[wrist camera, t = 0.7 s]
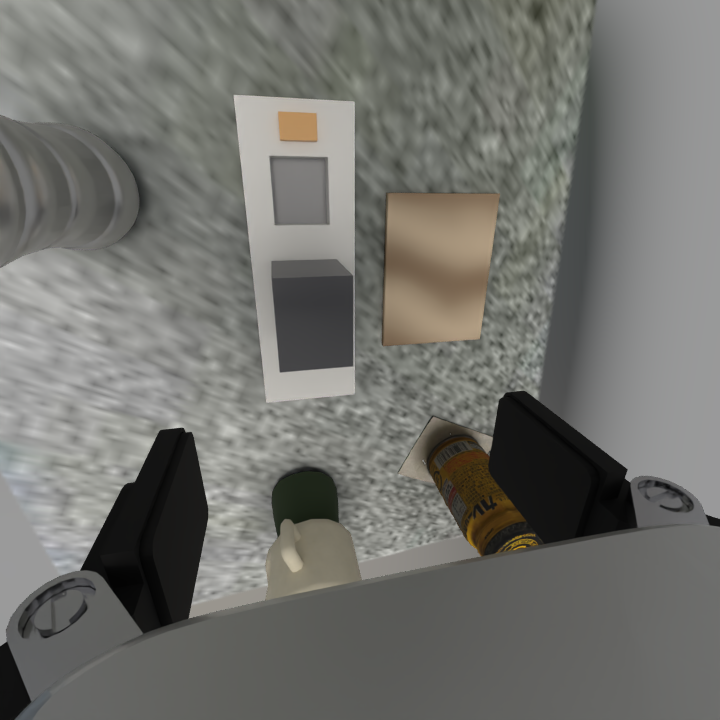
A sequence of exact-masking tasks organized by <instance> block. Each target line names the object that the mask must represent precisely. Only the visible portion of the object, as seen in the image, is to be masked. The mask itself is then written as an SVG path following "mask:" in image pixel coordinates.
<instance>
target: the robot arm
mask: <svg viewBox="0 0 720 720" xmlns="http://www.w3.org/2000/svg"><path fill="white" fill-rule="evenodd" d="M488 469H489V473H490V475H491V477H492V478H493V479H494V480H495V482H496V483H497V484H498V486H499V487H500V488H501V489H502V491H503V492H504V493H505V494H506V496H507V497H508V498H509V500H510V501H511V502H512V503H513V505H514V506H515V507H516V508H517V510H518V511H519V512H520V514H521V515H522V516H523V517H524V519H525V520H526V521H527V522H528V524H529V525H530V526H531V528H532V529H533V530H534V531H535V533H536V534H537V535H538V536H539V538H540V539H541V540H542V542H543V543H544V544H543V545H538V546H532V547H527V548H522V549H517V550H512V551H506V552H501V553H496V554H491V555H486V556H481V557H476V558H471V559H466V560H461V561H456V562H450V563H445V564H441V565H435V566H431V567H426V568H420V569H415V570H410V571H405V572H400V573H396V574H391V575H385V576H381V577H376V578H371V579H366V580H361V581H356V582H351V583H346V584H341V585H337V586H332V587H327V588H322V589H317V590H312V591H307V592H302V593H298V594H293V595H288V596H283V597H279V598H274V599H270V600H265V601H261V602H256V603H252V604H248V605H243V606H238V607H234V608H230V609H225V610H220V611H216V612H213V613H209V614H205V615H201V616H197V617H193V618H189V613H190V608H191V603H192V598H193V593H194V588H195V582H196V577H197V572H198V567H199V562H200V557H201V552H202V547H203V542H204V537H205V532H206V527H207V522H208V505H207V500H206V495H205V491H204V486H203V481H202V476H201V471H200V466H199V461H198V456H197V452H196V447H195V442H194V437H193V434H192V432H187V433H186V432H185V430H184V428H175V429H166V430H160V431H159V433H158V435H157V437H156V439H155V441H154V443H153V446H152V448H151V450H150V452H149V454H148V456H147V458H146V460H145V462H144V464H143V466H142V469H141V471H140V473H139V475H138V477H137V479H136V481H135V482H133V483H127V484H126V485H124V487H123V488H122V490H121V492H120V494H119V496H118V497H117V499H116V501H115V503H114V505H113V507H112V509H111V511H110V513H109V515H108V517H107V519H106V521H105V523H104V525H103V527H102V529H101V531H100V533H99V535H98V537H97V539H96V540H95V542H94V544H93V546H92V548H91V550H90V552H89V554H88V556H87V558H86V560H85V562H84V564H83V566H82V568H81V570H80V571H75V572H71V573H68V574H65V575H62V576H59V577H57V578H55V579H53V580H51V581H49V582H47V583H46V584H44V585H43V586H41V587H40V588H38V589H37V590H36V591H34V592H33V593H32V594H30V595H29V597H28V598H26V599H25V600H24V601H23V602H22V604H20V606H19V607H18V608H17V609H16V611H15V612H14V614H13V615H12V617H11V618H10V621H9V624H8V626H7V629H6V636H7V642H6V643H4V644H3V645H2V646H0V720H720V519H718V518H714V517H711V516H708V515H705V513H704V510H703V507H702V505H701V504H700V502H699V501H698V499H697V498H696V497H695V496H694V495H692V494H691V493H690V492H689V491H687V490H686V489H684V488H683V487H681V486H679V485H677V484H675V483H672V482H670V481H668V480H665V479H661V478H658V477H652V476H639V477H635V478H634V479H633V480H632V481H631V483H630V482H628V481H627V480H626V479H625V475H626V472H627V469H626V468H625V467H624V466H622V465H621V464H620V463H618V462H617V461H616V460H614V459H613V458H612V457H610V456H609V455H608V454H607V453H605V452H604V451H603V450H601V449H600V448H599V447H598V446H596V445H595V444H593V443H592V442H591V441H590V440H588V439H587V438H586V437H584V436H583V435H582V434H581V433H579V432H578V431H577V430H575V429H574V428H573V427H571V426H570V425H569V424H568V423H566V422H565V421H564V420H562V419H561V418H560V417H558V416H557V415H556V414H554V413H553V412H552V411H550V410H549V409H548V408H547V407H545V406H544V405H543V404H541V403H540V402H539V401H538V400H536V399H535V398H534V397H532V396H531V395H530V394H528V393H527V392H525V391H517V392H507V393H506V394H505V395H504V396H503V398H501V399H500V400H499V405H498V410H497V416H496V422H495V428H494V434H493V440H492V446H491V452H490V457H489V463H488ZM188 618H189V619H188Z"/></svg>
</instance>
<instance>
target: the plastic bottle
mask: <svg viewBox="0 0 720 720" xmlns="http://www.w3.org/2000/svg"><path fill="white" fill-rule="evenodd" d="M138 210H139V192H138V187H137V184H136V181H135V179H134V176H133V174H132V172H131V171H130V169H129V167H128V166H127V164H126V163H125V161H124V160H123V159H122V158H121V157H120V156H119V154H118V153H116V152H115V151H114V150H113V149H112V148H111V147H110V146H109V145H107V144H106V143H105V142H104V141H103V140H102V139H100V138H98V137H97V136H95V135H94V134H92V133H90V132H88V131H86V130H84V129H81V128H79V127H76V126H72V125H67V124H61V123H41V122H38V123H28V122H22V121H15V120H12V119H10V118H7V117H5V116H2V115H0V268H1V267H3V266H5V265H7V264H9V263H10V262H12V261H14V260H16V259H18V258H20V257H22V256H24V255H27V254H31V253H34V252H37V251H39V250H43V249H46V248H65V249H72V250H97V249H101V248H105V247H108V246H110V245H112V244H114V243H116V242H117V241H118V240H120V239H121V238H122V237H123V236H124V235H125V234H126V233H127V232H128V231H129V230H130V229H131V227H132V226H133V225H134V222H135V220H136V218H137V215H138Z"/></svg>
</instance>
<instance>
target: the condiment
mask: <svg viewBox="0 0 720 720" xmlns="http://www.w3.org/2000/svg"><path fill="white" fill-rule="evenodd" d="M450 433H451V435H450ZM492 440H493V437H491V436H488V435H485V434H482V433H480V432H477V431H474V430H471V429H468V428H465V427H461V426H459V425H456V424H453V423H451V422H448V421H444V420H441V419H438V418H436V417H433V418H432V419H431V421H430V422H429V424H428V425H427V426H426V428H425V429H424V431H423V433H422V434H421V436H420V437H419V439H418V440H417V442H416V444H415V445H414V447H413V448H412V450H411V452H410V454H409V456H408V457H407V459H406V460H405V462H404V464H403V466H402V468H401V469H400V471H399V472H398V474H401V475H404V476H408V477H411V478H414V479H419V480H422V481H426V482H431V483H435V484H436V486H437V488H438V490H439V492H440V494H441V496H442V497H443V499H444V501H445V503H446V506H448V508H449V509H450V512H451V514H452V515H453V516H454V518H455V521H456V522H457V524H458V526H459V528H460V530H461V531H462V533H463V535H464V537H465V538H466V540H467V541H468V542H469V543H470V544H471V545H472V546H473V547H474V548H476V549H477V550H478V553H479V554H480V555H481V556H486V555H491V554H496V553H501V552H506V551H512V550H517V549H522V548H527V547H532V546H538V545H543V544H544V543H543V542H542V540H541V539H540V538H539V536H538V535H537V534H536V533H535V531H534V530H533V529H532V528H531V526H530V525H529V524H528V522H527V521H526V520H525V519H524V517H523V516H522V515H521V514H520V512H519V511H518V510H517V508H516V507H515V506H514V505H513V503H512V502H511V501H510V500H509V498H508V497H507V496H506V494H505V493H504V492H503V491H502V489H501V488H500V487H499V486H498V484H497V483H496V482H495V480H494V479H493V478H492V477H491V475H490V473H489V469H488V463H489V455H488V454H487V453H488V452H489V451H490V450H491V446H492ZM423 459H424V462H425V463H426V464H425V465H424V462H423V461H422V460H423Z"/></svg>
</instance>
